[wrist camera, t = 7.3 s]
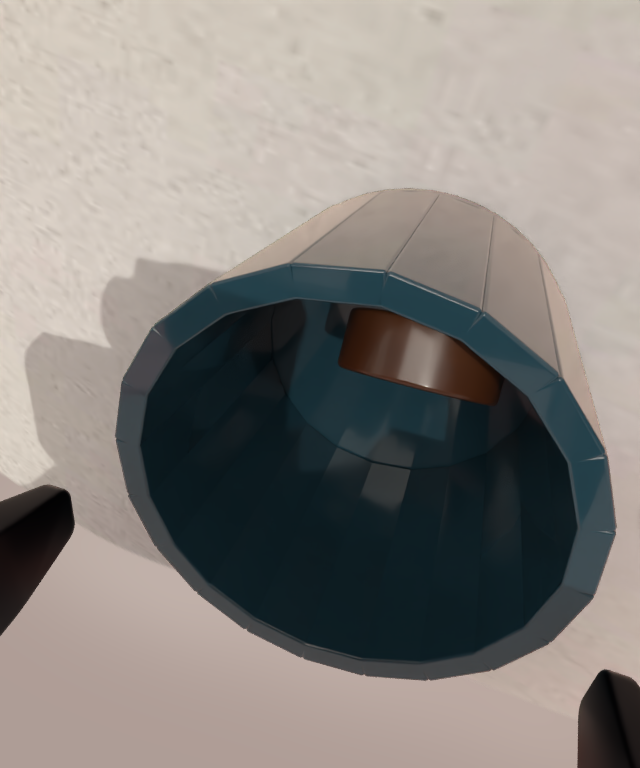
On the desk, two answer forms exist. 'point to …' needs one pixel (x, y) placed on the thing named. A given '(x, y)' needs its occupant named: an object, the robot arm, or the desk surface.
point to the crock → (375, 447)
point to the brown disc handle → (416, 357)
